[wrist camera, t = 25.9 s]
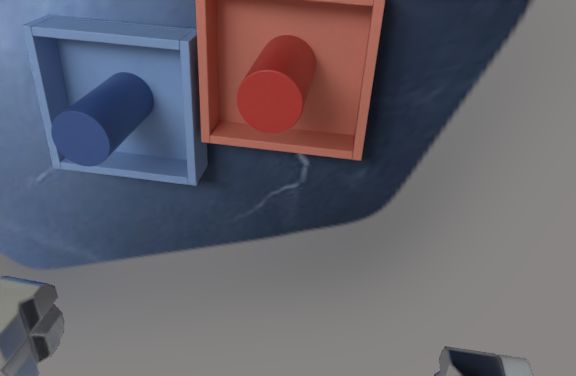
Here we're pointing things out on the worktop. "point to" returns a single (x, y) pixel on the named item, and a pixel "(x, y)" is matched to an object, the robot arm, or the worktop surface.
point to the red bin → (325, 83)
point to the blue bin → (132, 59)
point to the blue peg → (102, 119)
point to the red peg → (277, 85)
